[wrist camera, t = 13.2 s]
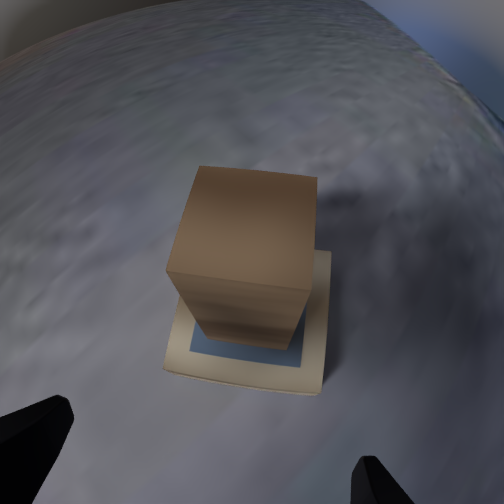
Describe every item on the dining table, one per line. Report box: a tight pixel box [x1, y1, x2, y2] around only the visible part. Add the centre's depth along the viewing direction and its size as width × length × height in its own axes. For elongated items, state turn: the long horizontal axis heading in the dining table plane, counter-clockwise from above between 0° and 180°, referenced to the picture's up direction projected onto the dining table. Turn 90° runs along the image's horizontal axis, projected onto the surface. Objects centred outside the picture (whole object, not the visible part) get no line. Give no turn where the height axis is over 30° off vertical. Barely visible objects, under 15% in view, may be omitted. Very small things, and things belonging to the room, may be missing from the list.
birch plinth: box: [163, 249, 331, 396], centre depth 22 cm, size 10×10×3 cm
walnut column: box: [166, 166, 317, 350], centre depth 16 cm, size 5×5×10 cm
